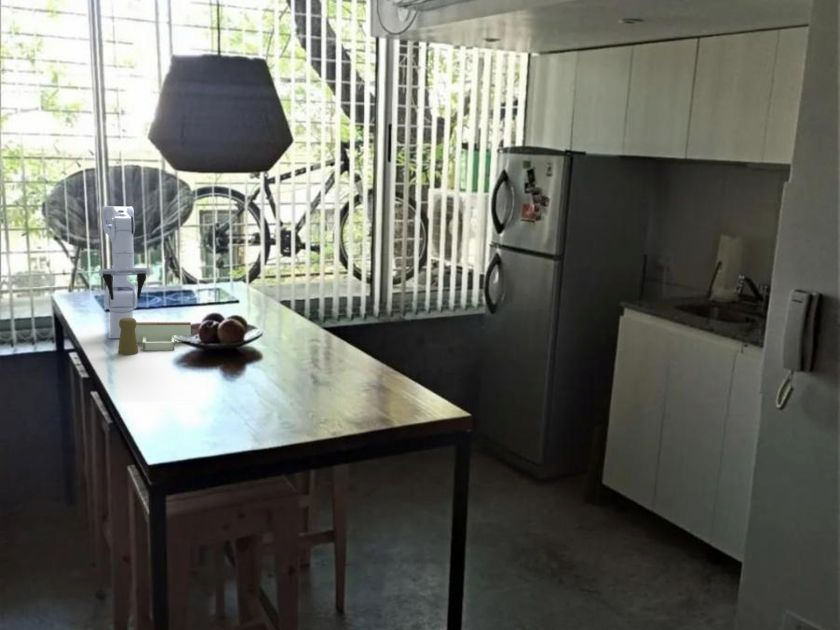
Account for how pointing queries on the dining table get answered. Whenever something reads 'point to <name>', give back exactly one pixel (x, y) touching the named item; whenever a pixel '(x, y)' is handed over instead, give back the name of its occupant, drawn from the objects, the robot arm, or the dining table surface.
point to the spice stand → (160, 334)
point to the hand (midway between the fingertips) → (125, 298)
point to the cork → (127, 337)
